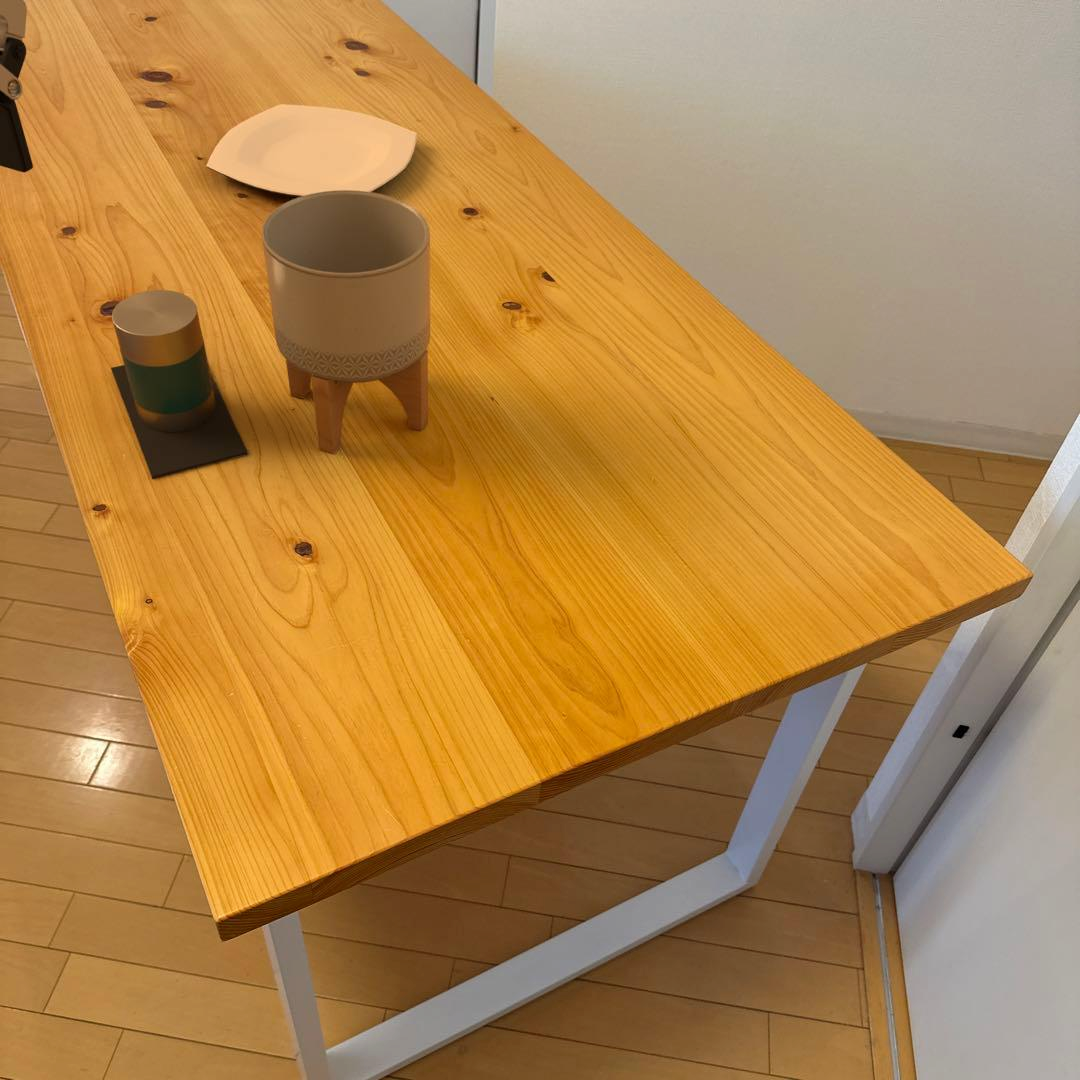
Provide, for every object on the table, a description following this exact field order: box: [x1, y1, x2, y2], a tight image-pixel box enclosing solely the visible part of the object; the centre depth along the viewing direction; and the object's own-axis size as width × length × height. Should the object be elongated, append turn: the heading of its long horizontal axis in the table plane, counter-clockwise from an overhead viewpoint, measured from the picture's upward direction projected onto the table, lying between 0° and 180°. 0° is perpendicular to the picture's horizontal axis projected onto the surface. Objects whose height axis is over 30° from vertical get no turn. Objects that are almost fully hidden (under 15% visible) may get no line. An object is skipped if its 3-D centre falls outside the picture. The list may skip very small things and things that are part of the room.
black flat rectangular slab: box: [110, 364, 249, 480], centre depth 89 cm, size 16×8×1 cm, turn 28°
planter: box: [261, 190, 431, 455], centre depth 85 cm, size 13×13×18 cm
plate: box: [206, 103, 418, 198], centre depth 123 cm, size 23×23×2 cm
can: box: [111, 289, 216, 432], centre depth 85 cm, size 7×7×10 cm
